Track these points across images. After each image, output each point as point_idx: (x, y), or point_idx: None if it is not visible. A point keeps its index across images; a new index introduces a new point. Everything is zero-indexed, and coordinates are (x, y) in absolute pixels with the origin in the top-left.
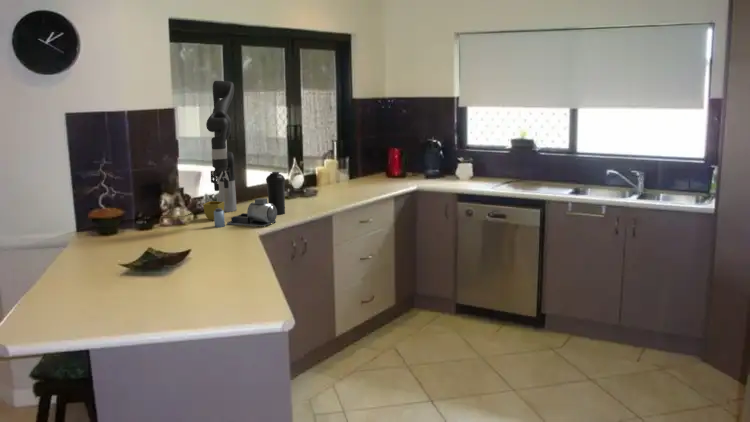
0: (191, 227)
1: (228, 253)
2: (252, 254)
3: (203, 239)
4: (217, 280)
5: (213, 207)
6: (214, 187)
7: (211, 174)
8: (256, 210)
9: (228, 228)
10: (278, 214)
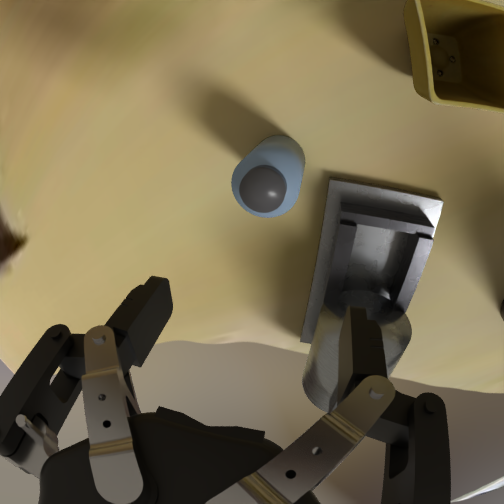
0: (217, 32)
1: (56, 321)
2: None
3: (83, 218)
4: (10, 333)
5: (421, 66)
6: (123, 302)
7: (6, 405)
8: (313, 363)
9: (248, 222)
10: (501, 314)
